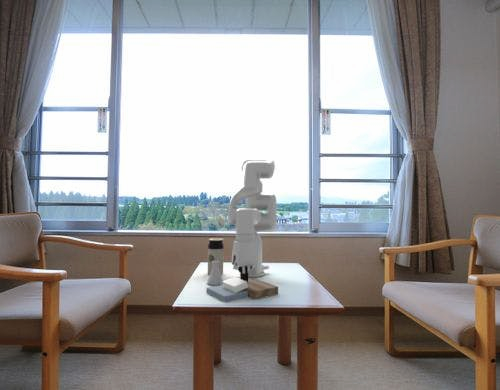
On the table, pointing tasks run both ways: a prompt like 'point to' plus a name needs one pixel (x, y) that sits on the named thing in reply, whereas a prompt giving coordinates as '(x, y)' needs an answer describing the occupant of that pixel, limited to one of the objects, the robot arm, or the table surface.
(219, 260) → the travel mug
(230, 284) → the tile
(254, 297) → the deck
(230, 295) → the mat
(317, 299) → the table surface
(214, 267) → the flask
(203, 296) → the table surface
